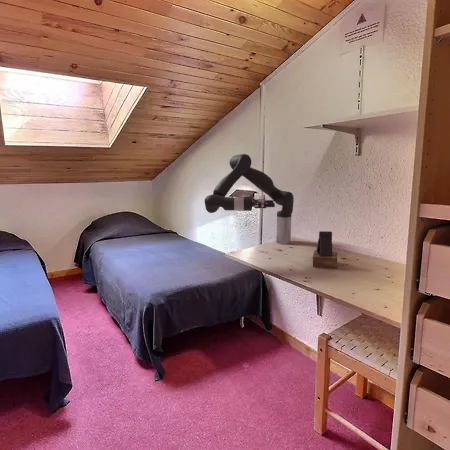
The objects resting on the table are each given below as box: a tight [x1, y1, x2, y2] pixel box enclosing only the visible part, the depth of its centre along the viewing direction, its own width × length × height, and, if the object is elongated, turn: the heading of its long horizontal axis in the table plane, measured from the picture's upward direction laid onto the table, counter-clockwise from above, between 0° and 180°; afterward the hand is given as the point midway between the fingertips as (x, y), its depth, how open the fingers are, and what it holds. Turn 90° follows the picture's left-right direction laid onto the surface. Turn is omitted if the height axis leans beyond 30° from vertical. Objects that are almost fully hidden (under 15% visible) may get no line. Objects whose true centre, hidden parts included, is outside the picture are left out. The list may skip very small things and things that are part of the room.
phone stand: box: [316, 230, 333, 256], centre depth 185 cm, size 9×6×12 cm, turn 0°
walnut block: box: [312, 249, 338, 270], centre depth 186 cm, size 12×12×6 cm
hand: (274, 203), depth 185 cm, fingers open, 8 cm apart
